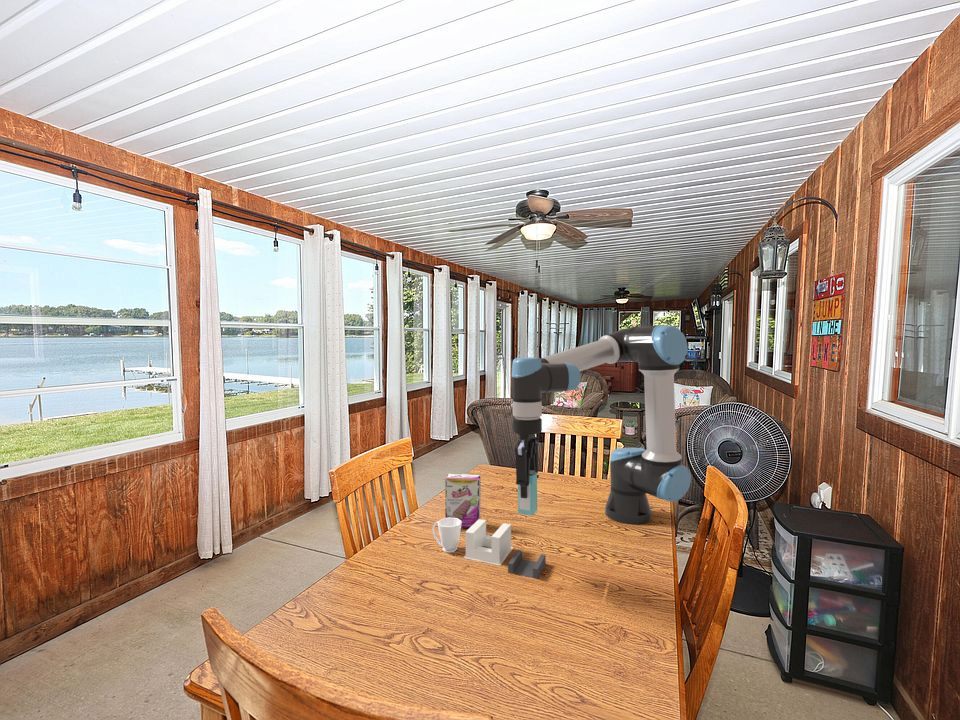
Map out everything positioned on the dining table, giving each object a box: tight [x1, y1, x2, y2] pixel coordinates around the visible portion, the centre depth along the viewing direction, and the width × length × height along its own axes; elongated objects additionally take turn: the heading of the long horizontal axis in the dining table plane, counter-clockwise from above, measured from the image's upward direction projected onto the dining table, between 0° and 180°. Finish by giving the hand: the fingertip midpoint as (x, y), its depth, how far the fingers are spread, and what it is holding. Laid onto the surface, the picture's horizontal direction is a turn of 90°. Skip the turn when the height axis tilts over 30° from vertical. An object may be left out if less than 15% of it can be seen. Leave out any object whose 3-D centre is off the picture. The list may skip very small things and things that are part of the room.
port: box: [462, 518, 514, 567], centre depth 124 cm, size 11×11×8 cm
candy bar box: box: [444, 473, 482, 529], centre depth 143 cm, size 11×5×16 cm, turn 84°
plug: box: [517, 470, 538, 517], centre depth 114 cm, size 4×4×11 cm
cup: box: [431, 517, 462, 554], centre depth 128 cm, size 7×10×8 cm
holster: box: [507, 549, 547, 580], centre depth 115 cm, size 8×8×3 cm
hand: (527, 505), depth 115 cm, fingers closed on plug, 4 cm apart
